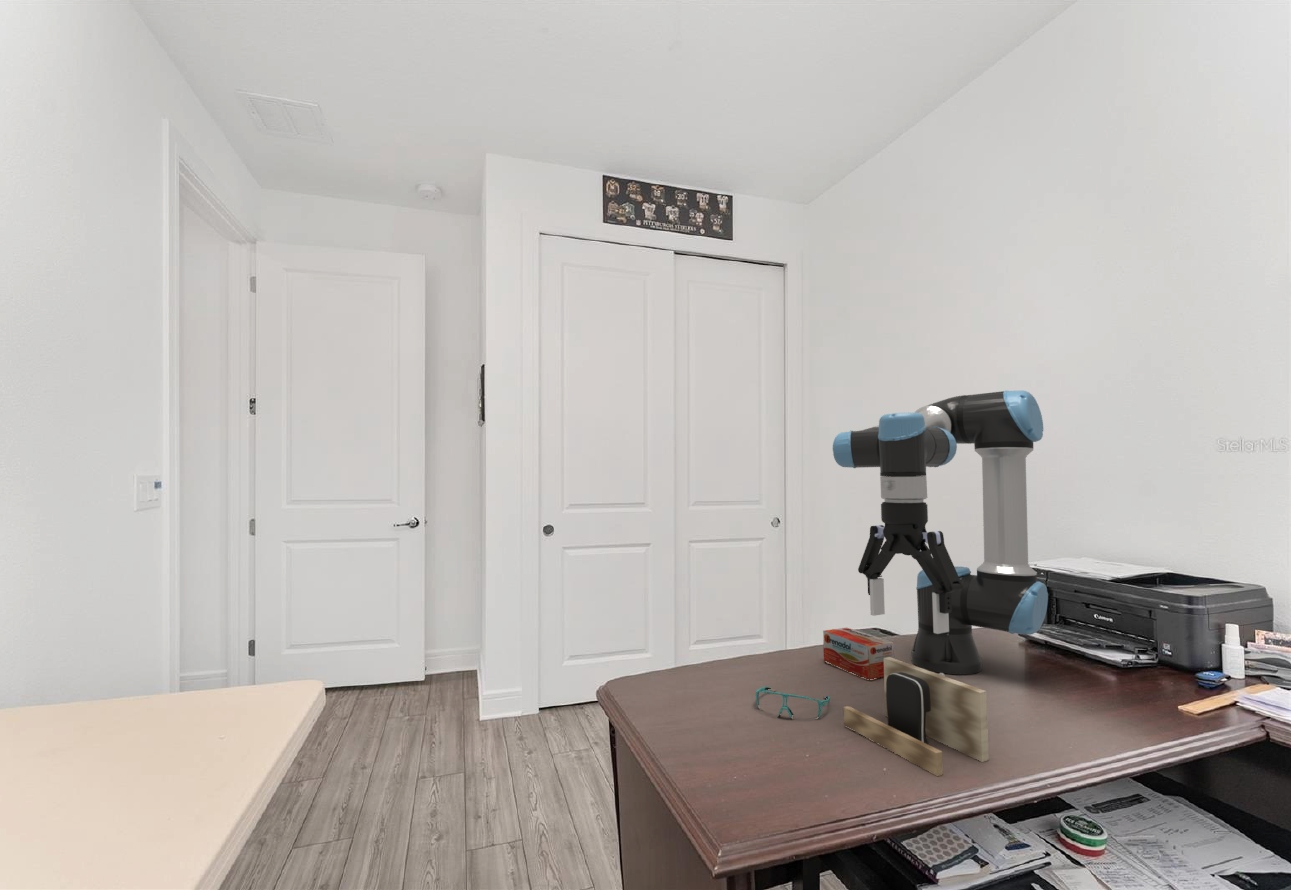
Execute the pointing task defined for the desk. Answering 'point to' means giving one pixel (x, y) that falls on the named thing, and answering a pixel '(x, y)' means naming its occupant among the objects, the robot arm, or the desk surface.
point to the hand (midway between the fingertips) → (907, 623)
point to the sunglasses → (820, 703)
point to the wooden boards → (932, 720)
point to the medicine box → (857, 652)
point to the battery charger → (908, 704)
